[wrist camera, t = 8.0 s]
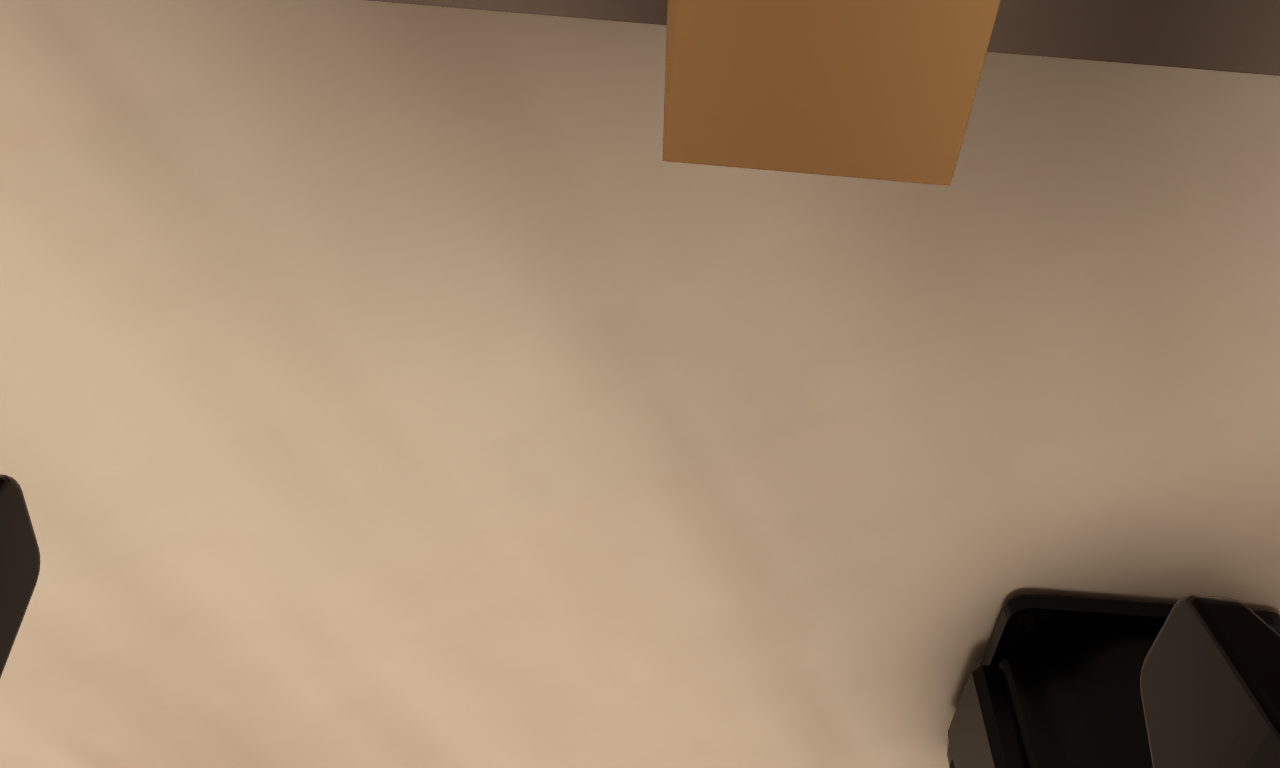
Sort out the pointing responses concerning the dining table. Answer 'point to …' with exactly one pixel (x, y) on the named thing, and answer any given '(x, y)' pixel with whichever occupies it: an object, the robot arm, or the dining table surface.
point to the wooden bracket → (824, 84)
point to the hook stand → (1045, 28)
